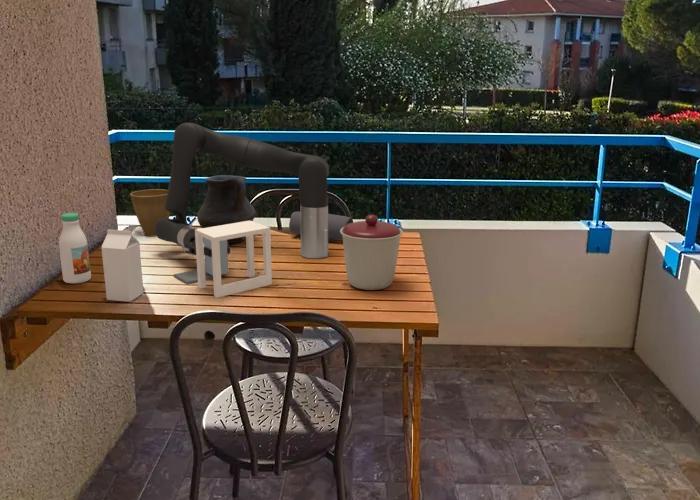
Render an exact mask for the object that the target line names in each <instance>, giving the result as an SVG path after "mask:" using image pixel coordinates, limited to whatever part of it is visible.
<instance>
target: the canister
mask: <svg viewBox="0 0 700 500" xmlns="http://www.w3.org/2000/svg"><path fill="white" fill-rule="evenodd" d="M378 219H379V218H378V216H377V215H374V214H368V215H367V216H365V220H362V221H360V220H359V221H353V223H350V224H348V225H346V226H345V227H343V228H341V229H340V233H341V234H342V237H343V240H342V244H343V245H342V246H343V254H344V257H343V258H344V264H345V265H344V266H345V272H346V279H347V281H348V282H349V284H350V285H351V286H352V287H354V288H356V289H360V290H364V291H365V290H366V291H376V290H378V291H379V290H383V289H386V288H389V287H390V286H391V285H392V283H393V282H394V279H395V275H396V274H395V273H396V269H397V262H398V256H399V255H398V254H399V248H400V241H401V236H403V234H404V233H403V232H404V231H403V229H401V228H400V227H398V226H397V225H396V224H393V223H390V222H385V221H379V220H378Z"/></svg>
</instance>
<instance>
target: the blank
mask: <svg viewBox="0 0 700 500" xmlns="http://www.w3.org/2000/svg"><path fill="white" fill-rule="evenodd" d="M219 243H220V264H221V275H225V274H229V254H227V240H222V241H219ZM204 246H205V248H206V247H207V248H209V249H211V250H212V246H211V240H208V239H206V238H204ZM204 262H205V271H206V272H207V273H209V274H210V275H212V276H213V265H212V257H209V256H206V255H204Z"/></svg>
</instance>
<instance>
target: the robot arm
mask: <svg viewBox="0 0 700 500" xmlns="http://www.w3.org/2000/svg"><path fill="white" fill-rule="evenodd" d="M172 147H173V150H172V151H173V152H172V153H173V154H172V163H171V172H170V178H169V183H168V187H167V188H168V189H167V190H168V192H167V197H166V202H165V209H166V210H167V211H169V212H170V213H171V214H174V217H175V219H174V218H169V219H167V218H162V219H159V220H158V221H157V222H156V223H155V226H154V232H155V234H156V236H155V237H156V238H158V239H159V240H161V241H162V240H163V241H166V242H168V243H169V242H170V243H174V244H176V245H178V246H180V247H182V248H183V252H184V254H189V255H192V256H195V257H196V241H195V230H196V229H198V228H197V227H195V226H190V225H188V222H187V221H188V220H187V208H188V201H189V198H190V192H191V171H192V163H193V160H194V156H195V154H196V152H198V153H205V154H211V155H214V156H219V157H221V158H223V159H226V160H228V161H229V162H232V163H234V164H237V165H240V166H243V167H246V168H250V169H254V170H259V171H266V172H278V173H280V172H281V173H286V174H290V175H293V176H297V177H298V194H299V195H298V196H299V202H300V203H299V204H300V209H299V210H300V211H299V212H300V219H301V235H300V256H301V257H303V258H307V259H322V258H328V257H329V241H328V214H329V197H328V176H329V174H330V173H329V172H330V166H329V164H328V162H327V160H325V159H324V158H323V157H321V156H319V155H314V154H306V153H301V152H294V151H290V150H287V149H285V148H283V147H278V146H277V145H274V144H270V143H268V142H263V141H259V140H257V139H252V138H248V137H243V136H238V135H233V134H231V135H230V134H224V133H221V132H217V131H215V130H212V129H209V128H207V127H204V126H202V125H200V124H198V123H194V122H193V123H192V122H183V123H181V124H179V125H178V126H177V127H176V128H175V130H174V134H173V146H172ZM203 244H204V237H203ZM230 252H231V247H230V244H229V242H228V241H227V254H228V255H229V254H230ZM205 255H206V256H209V257H212V250H211V249H209V248H207V247H206V248H205V246H204V256H205Z"/></svg>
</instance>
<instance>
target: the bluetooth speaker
mask: <svg viewBox="0 0 700 500" xmlns="http://www.w3.org/2000/svg"><path fill="white" fill-rule="evenodd" d="M350 223H354V219H353V217H349V216H346V215H339V214H332V213H328V242H329V241H333V242H335V241H336V240H337V241H343V237H342V234H341V233H340V229H341V228H343V227H345V226H346V225H348V224H350ZM288 229H289V231H290V232H291V233H292V234H295V235H299V236H301V219H300V211H293V212H292V213H291V215H290V219H289V223H288ZM334 240H335V241H334Z"/></svg>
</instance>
